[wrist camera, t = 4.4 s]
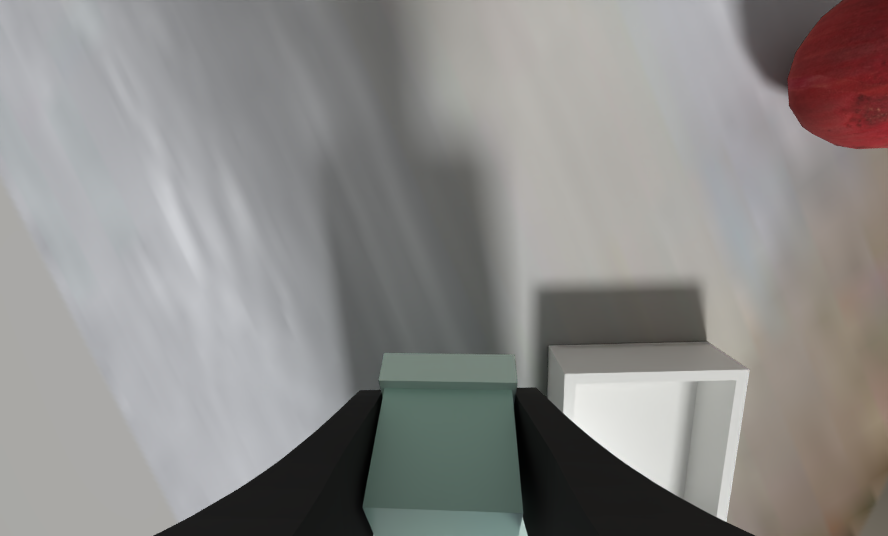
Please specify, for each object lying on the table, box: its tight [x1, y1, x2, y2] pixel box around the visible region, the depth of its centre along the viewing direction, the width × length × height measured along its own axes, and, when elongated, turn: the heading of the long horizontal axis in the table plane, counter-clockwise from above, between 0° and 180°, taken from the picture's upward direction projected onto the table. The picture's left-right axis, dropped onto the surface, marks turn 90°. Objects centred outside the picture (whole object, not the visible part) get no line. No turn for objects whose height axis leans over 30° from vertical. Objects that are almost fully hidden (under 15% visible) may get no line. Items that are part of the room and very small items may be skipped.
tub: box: [547, 341, 750, 522], centre depth 21 cm, size 12×8×3 cm, turn 2°
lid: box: [362, 353, 528, 536], centre depth 15 cm, size 17×9×4 cm, turn 2°
